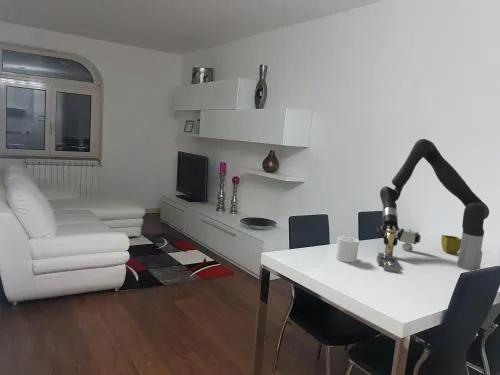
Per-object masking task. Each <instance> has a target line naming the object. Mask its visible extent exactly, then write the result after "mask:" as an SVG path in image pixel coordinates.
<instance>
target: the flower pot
mask: <svg viewBox="0 0 500 375" xmlns="http://www.w3.org/2000/svg"><path fill="white" fill-rule="evenodd" d="M461 239H462V238H460V237H458V236H455V235H454V236H453V235H447V234H446V235H445V234H441V248H442V250H443V251H444V252H445V253H447V254H453V255H456V254H458V253H459V251H460V245H461Z"/></svg>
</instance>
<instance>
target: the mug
mask: <svg viewBox="0 0 500 375" xmlns="http://www.w3.org/2000/svg"><path fill="white" fill-rule="evenodd" d="M359 243H360V240H359V239H357V238H355V237H350V236H338V238H337V242H336V253H335V259H336V260H337V259H338V260H337V261H339V260H340V261H339V262H342V261H343V262H342V263H347V262H351V263H350V264H354V263H356V262H357V260H358V251H359ZM353 262H354V263H353Z"/></svg>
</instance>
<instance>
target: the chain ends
mask: <svg viewBox="0 0 500 375" xmlns="http://www.w3.org/2000/svg"><path fill="white" fill-rule="evenodd" d="M376 263H377V264H378V266H379V267H381V268H382V269H383V271H386V272H391V273H392V272H393V273H399V268H400V262H399V261H398V259H397V258H396V257H393V256H391V254H387V253H385V252H378V253H377V256H376Z"/></svg>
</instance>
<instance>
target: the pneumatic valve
mask: <svg viewBox="0 0 500 375" xmlns="http://www.w3.org/2000/svg"><path fill="white" fill-rule="evenodd" d="M399 234H400V233H399V231H397V236H399ZM421 237H422V236H421V234H420V233H419V232H418V231H413V230H411V229H404V231H403V234H402V236H401V238H400V240H398V241H399V242H403V243H402V245H401V248H402V250H403V251H406V252H410V251H412V250H413V248H414V246H413V245H416V244H419V243H420V242H421V239H422V238H421Z"/></svg>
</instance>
